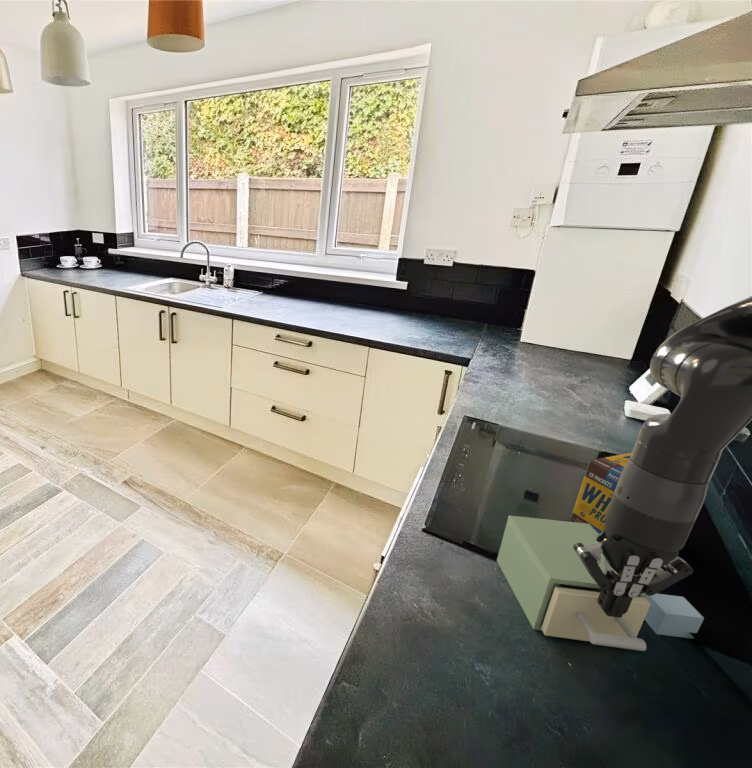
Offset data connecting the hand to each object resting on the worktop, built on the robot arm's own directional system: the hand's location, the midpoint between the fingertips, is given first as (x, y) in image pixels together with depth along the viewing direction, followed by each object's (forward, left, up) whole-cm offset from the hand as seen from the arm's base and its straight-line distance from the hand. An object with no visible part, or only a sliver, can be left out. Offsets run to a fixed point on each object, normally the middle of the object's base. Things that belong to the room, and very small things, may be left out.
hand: (609, 611), depth 60 cm
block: (-14, -8, -8) cm, 18 cm away
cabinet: (0, -11, -8) cm, 13 cm away
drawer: (0, -6, -7) cm, 9 cm away
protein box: (-20, -29, -8) cm, 36 cm away
